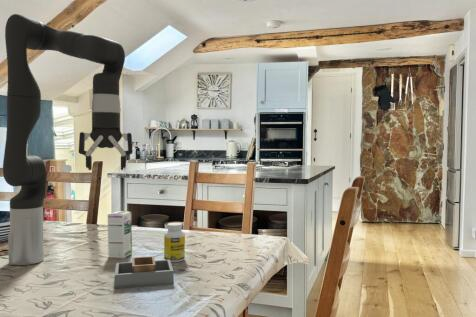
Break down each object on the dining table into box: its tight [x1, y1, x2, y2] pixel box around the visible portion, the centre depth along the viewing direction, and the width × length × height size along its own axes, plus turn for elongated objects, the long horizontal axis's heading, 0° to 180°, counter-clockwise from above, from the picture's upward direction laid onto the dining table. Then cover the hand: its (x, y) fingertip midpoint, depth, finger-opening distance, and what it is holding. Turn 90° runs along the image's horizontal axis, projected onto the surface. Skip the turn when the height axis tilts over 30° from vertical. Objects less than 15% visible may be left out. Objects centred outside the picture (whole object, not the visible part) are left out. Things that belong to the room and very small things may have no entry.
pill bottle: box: [163, 222, 186, 263], centre depth 132 cm, size 6×6×12 cm
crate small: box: [131, 255, 156, 273], centre depth 114 cm, size 6×8×4 cm
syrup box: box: [107, 210, 133, 259], centre depth 137 cm, size 6×6×14 cm
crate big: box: [114, 259, 174, 289], centre depth 114 cm, size 15×11×4 cm
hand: (106, 169), depth 116 cm, fingers open, 8 cm apart
